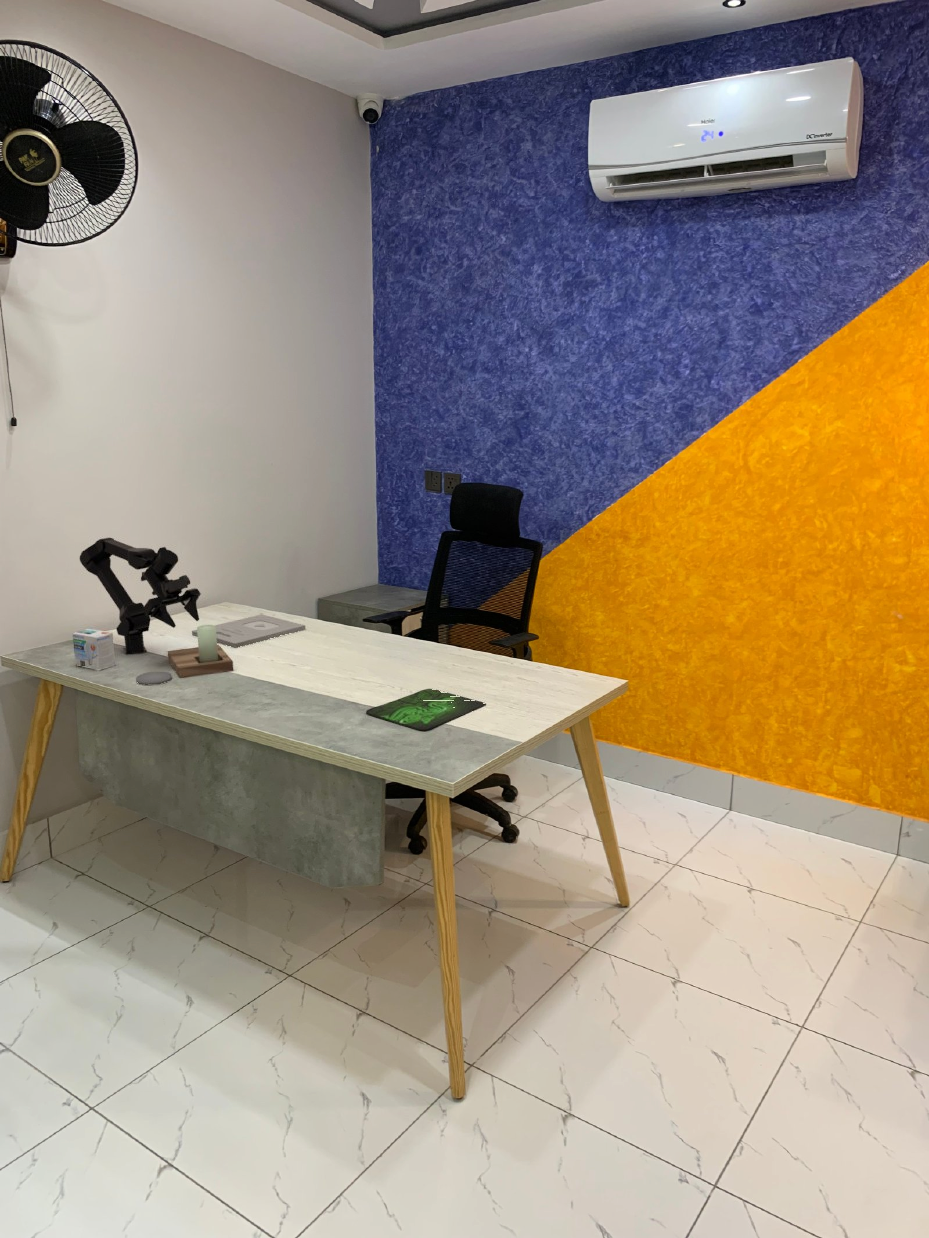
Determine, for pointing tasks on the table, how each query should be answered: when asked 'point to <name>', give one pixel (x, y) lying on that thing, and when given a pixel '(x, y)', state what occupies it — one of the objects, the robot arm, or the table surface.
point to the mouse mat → (425, 709)
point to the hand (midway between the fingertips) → (186, 623)
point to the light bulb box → (94, 648)
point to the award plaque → (253, 630)
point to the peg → (207, 643)
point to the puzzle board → (198, 662)
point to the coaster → (154, 678)
